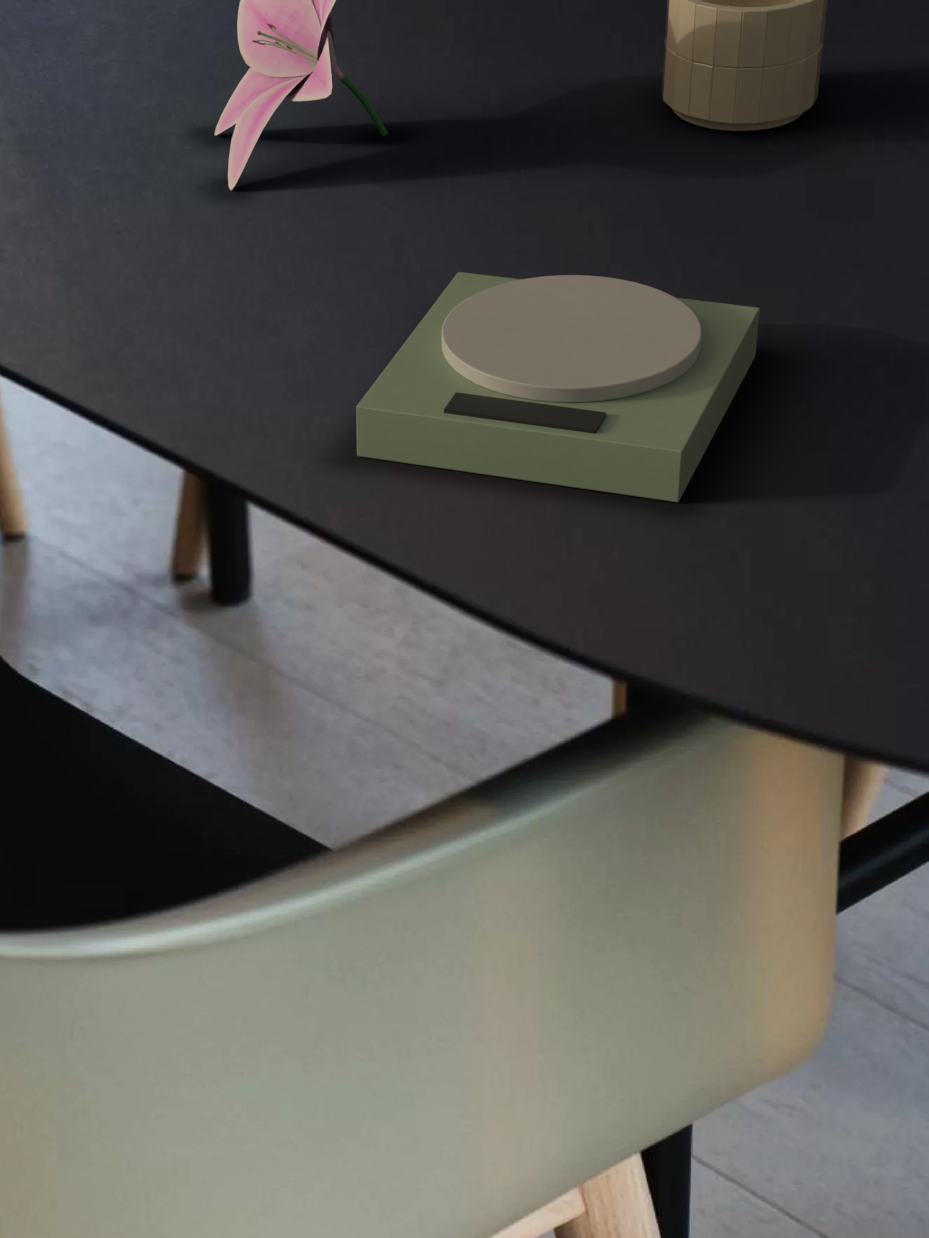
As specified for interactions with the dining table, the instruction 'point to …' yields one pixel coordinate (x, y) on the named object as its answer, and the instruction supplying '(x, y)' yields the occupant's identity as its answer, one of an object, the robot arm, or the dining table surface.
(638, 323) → the scale
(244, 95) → the lily
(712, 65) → the tan faceted cup
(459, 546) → the dining table surface
